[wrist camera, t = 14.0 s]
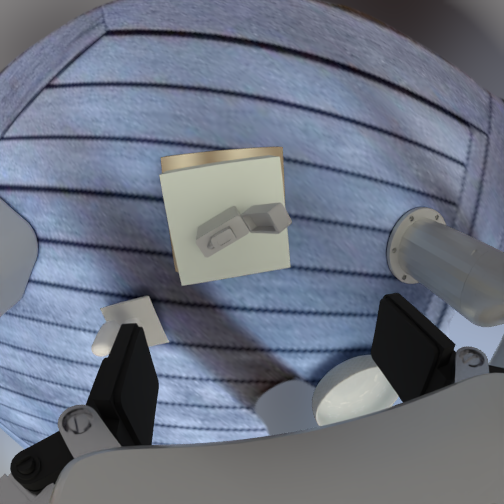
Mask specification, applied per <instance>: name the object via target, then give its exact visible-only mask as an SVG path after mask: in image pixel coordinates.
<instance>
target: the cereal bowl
mask: <svg viewBox="0 0 504 504" xmlns="http://www.w3.org/2000/svg"><path fill="white" fill-rule="evenodd" d="M397 398H398V394H397V393H396V392H395V390H394V389H393V387H392V386H391V384H390V383H389V382H388V380H387V379H386V377H385V376H384V375H383V373H382V372H381V370H380V369H379V367H378V366H377V365H376V363H375V362H374V360H373V359H372V357H371V355H362V356H357V357H354V358H351V359H348V360H346V361H344V362H342V363H340V364H339V365H337V366H335V367H334V368H333V369H331V370H330V371H329V372H328V373H327V374H326V375H325V376H324V377H323V378H322V379H321V381H320V382H319V383H318V385H317V387H316V389H315V392H314V394H313V399H312V408H313V414H314V417H315V419H316V422H317V423H318V425H319V426H324V425H328V424H332V423H336V422H340V421H344V420H348V419H352V418H355V417H359V416H362V415H366V414H369V413H373V412H376V411H379V410H382V409H386V408H389V407H391V406H392V405H393V404H394V402H395V401H396V400H397Z"/></svg>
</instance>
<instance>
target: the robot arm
mask: <svg viewBox="0 0 504 504" xmlns="http://www.w3.org/2000/svg"><path fill="white" fill-rule="evenodd" d="M387 261H388V266H389V268H390V271H391V272H392V274H393V275H394V276H395V277H396V278H397V279H399V280H400V281H401V282H404V283H407V284H415V283H421V284H422V285H423V286H425V287H426V288H427V289H429V290H430V291H431V292H433V293H434V294H435V295H437V296H438V297H439V298H441V299H442V300H443V301H444V302H446V303H447V304H448V305H450V306H451V307H452V308H453V309H455V310H456V311H457V312H459V313H460V314H461V315H462V316H464V317H465V318H466V319H468V320H469V321H470V322H471V323H473V324H475V325H477V326H481V327H492V326H497V325H500V324H504V252H502V251H500V250H498V249H496V248H494V247H492V246H490V245H488V244H486V243H483V242H481V241H479V240H477V239H475V238H473V237H471V236H468V235H466V234H464V233H462V232H460V231H457V230H455V229H453V228H451V227H448V226H446V223H445V221H444V219H443V217H442V216H441V215H440V214H439V213H438V212H437V211H435V210H433V209H431V208H427V207H418V208H414V209H412V210H410V211H409V212H407V213H406V214H405V215H403V216H402V217H401V219H400V220H399V221H398V222H397V224H396V225H395V227H394V228H393V231H392V233H391V235H390V238H389V241H388V246H387ZM454 347H455V344H454V343H453V342H452V341H451V340H450V339H449V338H448V337H447V336H446V335H445V334H444V333H443V332H442V331H440V330H439V329H438V328H437V327H436V326H435V325H434V324H433V323H432V322H431V321H430V320H428V319H427V318H426V317H425V316H424V315H423V314H422V313H421V312H419V311H418V310H417V309H416V308H415V307H414V306H413V305H412V304H410V303H409V302H408V301H407V300H406V299H405V298H404V297H402V296H401V295H400V294H399V293H393V294H387V295H385V296H384V297H383V299H381V301H380V305H379V311H378V317H377V322H376V328H375V333H374V338H373V343H372V348H371V357H372V359H373V360H374V362H375V363H376V365H377V366H378V367H379V369H380V370H381V372H382V373H383V375H384V376H385V377H386V379H387V380H388V382H389V383H390V384H391V386H392V387H393V389H394V390H395V392H396V393H397V394H398V396H399V397H400V399H401V400H402V402H403V403H401V404H398V405H395V406H392V407H389V408H386V409H382V410H379V411H376V412H373V413H369V414H366V415H362V416H359V417H355V418H352V419H348V420H344V421H340V422H336V423H332V424H328V425H324V426H319V427H315V428H310V429H306V430H300V431H295V432H290V433H284V434H278V435H272V436H265V437H258V438H250V439H242V440H233V441H223V442H210V443H195V444H174V445H152V436H153V427H154V419H155V411H156V404H157V396H158V389H159V383H158V378H157V375H156V372H155V368H154V365H153V362H152V358H151V355H150V351H149V348H148V344H147V341H146V337H145V333H144V330H143V327H138V325H137V323H127V324H122V325H121V327H120V329H119V332H118V334H117V336H116V339H115V341H114V344H113V346H112V349H111V351H110V354H109V356H108V358H104V359H103V361H102V363H101V366H100V368H99V371H98V374H97V376H96V379H95V381H94V384H93V387H92V389H91V392H90V395H89V398H88V400H87V403H86V405H75V406H72V407H70V408H68V409H66V410H65V411H64V412H63V413H62V414H61V415H60V417H59V419H58V428H59V431H58V432H56V433H54V434H53V435H51V436H49V437H47V438H45V439H43V440H42V441H40V442H38V443H36V444H34V445H32V446H30V447H29V448H27V449H25V450H23V451H21V452H19V453H18V454H17V455H16V456H15V457H14V458H13V460H12V463H11V468H10V469H11V474H10V475H9V476H7V475H6V474H4V475H3V476H2V477H1V478H0V504H504V335H503V337H502V340H501V342H500V344H499V346H498V347H497V349H496V351H495V353H494V355H493V357H492V358H491V360H490V362H489V363H488V359H487V357H486V355H485V354H484V353H483V352H482V351H481V350H479V349H477V348H474V347H462V348H460V349H458V351H457V352H455V351H454Z"/></svg>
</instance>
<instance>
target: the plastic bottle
mask: <svg viewBox="0 0 504 504" xmlns="http://www.w3.org/2000/svg"><path fill="white" fill-rule="evenodd" d="M37 255H38V242H37V238H36V235H35V232H34V230H33V229H32V227H31V226H30V224H29V223H28V222H27V221H26V220H25V219H23V218H22V217H21V216H20V215H19V214H18V213H16V212H15V211H14V210H13V209H12V208H11V207H10V206H8V205H7V204H6V203H5V202H4V201H3V200H2V199H1V198H0V317H1V316H2V315H3V314H4V313H6V312H7V311H8V310H9V309H10V308H11V307H12V306H14V305H15V304H16V303H17V302H18V301H19V300H20V299H21V298H22V296H23V294H24V291H25V288H26V285H27V282H28V280H29V277H30V274H31V272H32V269H33V267H34V264H35V261H36V259H37Z"/></svg>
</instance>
